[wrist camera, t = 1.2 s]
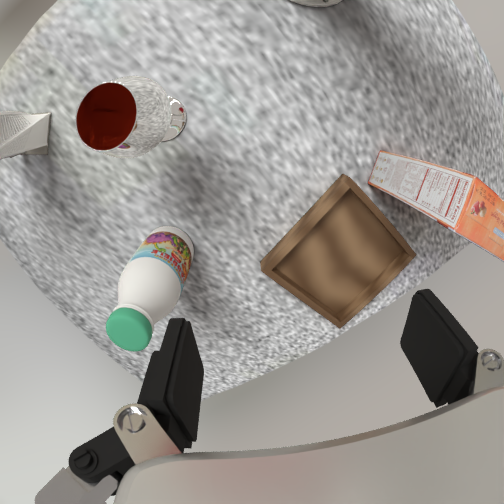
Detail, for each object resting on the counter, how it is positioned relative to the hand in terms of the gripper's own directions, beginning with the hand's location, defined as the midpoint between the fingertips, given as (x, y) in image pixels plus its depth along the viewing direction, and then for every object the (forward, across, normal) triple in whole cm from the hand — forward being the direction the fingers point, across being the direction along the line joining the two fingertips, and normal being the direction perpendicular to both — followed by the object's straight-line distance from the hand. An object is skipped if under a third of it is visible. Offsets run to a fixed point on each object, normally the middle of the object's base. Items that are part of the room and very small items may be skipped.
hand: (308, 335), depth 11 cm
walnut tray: (+30, -12, +12) cm, 35 cm away
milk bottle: (+31, +15, +9) cm, 35 cm away
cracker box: (+31, -23, +1) cm, 38 cm away
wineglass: (+31, +12, -10) cm, 35 cm away
